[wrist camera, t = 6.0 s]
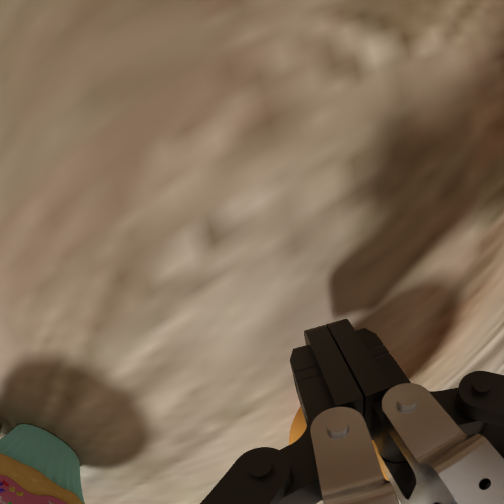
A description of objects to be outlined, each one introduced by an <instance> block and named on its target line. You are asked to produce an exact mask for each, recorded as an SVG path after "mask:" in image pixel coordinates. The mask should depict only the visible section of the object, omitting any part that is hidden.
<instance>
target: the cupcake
mask: <svg viewBox="0 0 504 504" xmlns="http://www.w3.org/2000/svg"><path fill="white" fill-rule="evenodd" d="M0 504H85V503H84V499H83V495H82V489H81V481H80V463H79V459H78V457H77V455H76V454H75V452H74V451H73V450H72V449H71V448H70V447H69V446H68V445H67V444H65V443H64V442H63V441H62V440H60V439H59V438H57V437H56V436H54V435H52V434H51V433H49V432H47V431H45V430H43V429H41V428H39V427H36V426H33V425H29V424H20V425H17V426H16V427H15V428H14V429H13V430H12V431H11V432H9V433H8V434H7V435H6V436H4V437H3V438H2V439H0Z"/></svg>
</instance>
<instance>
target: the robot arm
mask: <svg viewBox="0 0 504 504" xmlns="http://www.w3.org/2000/svg"><path fill="white" fill-rule="evenodd" d="M304 336H305V342H306V346H303V347H299V348H295V349H293V351H292V355H291V358H290V363H291V368H292V372H293V377H294V382H295V386H296V391H297V394H298V398H299V401H300V405H301V408H302V411H303V415H304V418H305V422H306V425H307V427H306V430H305V432H304V433H303V435H302V436H301V437H300V438H299V439H298V440H297V441H295V442H294V443H292V444H290V445H289V446H287V447H285V448H283V449H281V450H277V449H274V448H269V447H261V448H256V449H252V450H250V451H248V452H246V453H244V454H243V455H242V456H240V457H239V458H238V460H237V461H236V462H235V463H234V464H233V466H232V467H231V468H230V469H229V471H228V472H227V473H226V474H225V475H224V477H223V478H222V479H221V480H220V481H219V483H218V484H217V485H216V486H215V487H214V488H213V490H212V491H211V492H210V493H209V494H208V495H207V496H206V498H205V499H204V500H203V501H202V502H201V503H200V504H317V503H318V502H320V501H322V500H323V504H399V502H398V499H397V496H398V498H399V499H400V501H401V504H504V375H499V374H495V373H491V372H486V371H475V372H472V373H469V374H467V375H466V376H465V377H464V378H463V379H462V380H461V382H460V384H459V387H458V388H454V389H448V390H443V391H436V392H430V391H428V390H427V389H426V388H424V387H423V386H421V385H418V384H414V383H411V382H410V381H409V379H408V378H407V377H406V375H405V374H404V372H403V371H402V370H401V368H400V367H399V365H398V364H397V362H396V361H395V360H394V358H393V357H392V356H391V354H389V351H388V350H387V349H386V347H385V346H383V343H382V342H381V340H380V339H379V338H378V336H377V335H376V334H375V333H373V332H371V331H369V330H367V329H366V328H363V329H360V330H357V331H355V330H354V328H353V327H352V325H351V324H350V322H349V321H348V319H343V320H340V321H336V322H333V323H330V324H326V326H325V325H323V326H319V327H316V328H312V329H309V330H305V331H304ZM372 440H374V443H375V445H376V447H377V455H376V452H375V449H374V446H373V443H372ZM380 466H381V467H382V469H383V471H384V473H385V474H386V476H387V478H388V480H389V481H388V480H386V479H385V478H384V475H383V473H382V470H381V467H380ZM395 492H396V493H395ZM396 494H397V496H396Z"/></svg>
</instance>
